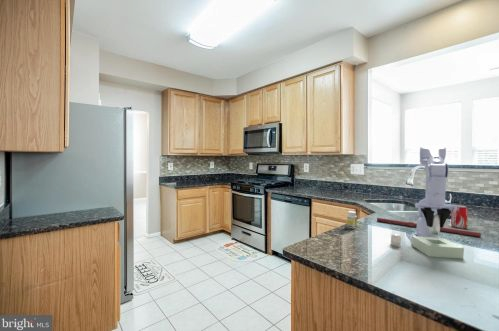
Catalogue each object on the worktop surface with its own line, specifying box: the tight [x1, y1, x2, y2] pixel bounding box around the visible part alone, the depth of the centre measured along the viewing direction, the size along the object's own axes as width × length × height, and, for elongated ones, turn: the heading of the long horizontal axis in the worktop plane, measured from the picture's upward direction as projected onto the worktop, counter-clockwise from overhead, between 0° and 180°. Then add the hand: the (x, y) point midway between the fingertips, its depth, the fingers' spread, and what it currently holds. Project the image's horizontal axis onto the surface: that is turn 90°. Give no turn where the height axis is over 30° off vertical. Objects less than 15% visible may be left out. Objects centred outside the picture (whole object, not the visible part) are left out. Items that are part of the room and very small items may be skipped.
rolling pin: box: [376, 217, 482, 238], centre depth 131 cm, size 45×3×3 cm, turn 54°
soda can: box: [450, 204, 469, 229], centre depth 134 cm, size 7×7×12 cm
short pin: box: [390, 233, 402, 248], centre depth 104 cm, size 4×4×4 cm
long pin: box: [429, 213, 441, 236], centre depth 98 cm, size 4×4×8 cm
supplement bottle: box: [346, 210, 358, 229], centre depth 130 cm, size 5×5×8 cm
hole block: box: [411, 235, 465, 260], centre depth 97 cm, size 12×12×4 cm
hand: (434, 226), depth 98 cm, fingers closed on long pin, 4 cm apart
